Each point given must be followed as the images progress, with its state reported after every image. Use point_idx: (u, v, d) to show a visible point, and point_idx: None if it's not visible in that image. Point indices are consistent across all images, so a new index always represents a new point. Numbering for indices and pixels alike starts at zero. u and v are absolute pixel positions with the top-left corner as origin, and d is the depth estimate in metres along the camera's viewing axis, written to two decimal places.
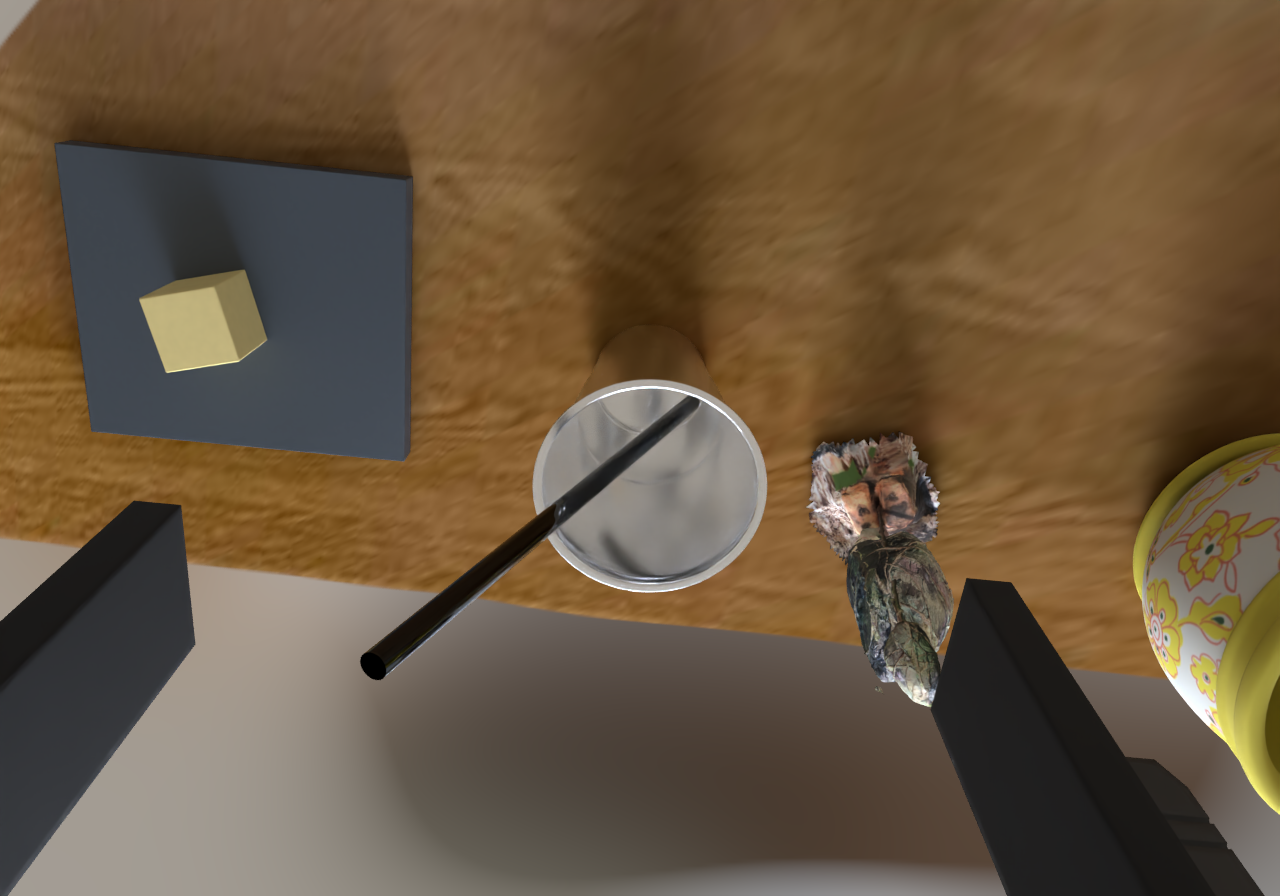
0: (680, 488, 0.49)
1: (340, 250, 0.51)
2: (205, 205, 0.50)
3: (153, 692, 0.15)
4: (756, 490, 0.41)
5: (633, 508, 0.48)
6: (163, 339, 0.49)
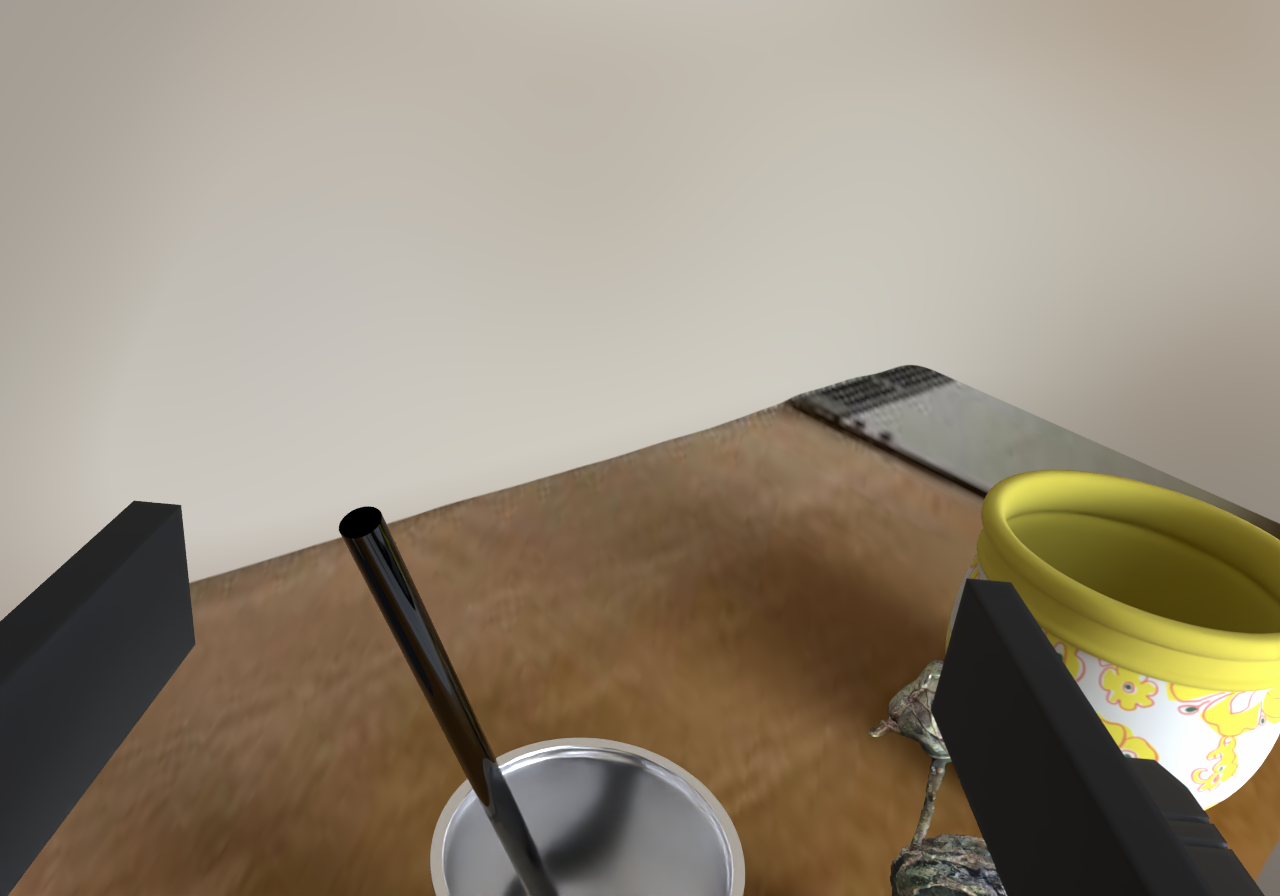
0: None
1: None
2: None
3: (153, 692, 0.15)
4: (672, 777, 0.34)
5: None
6: None
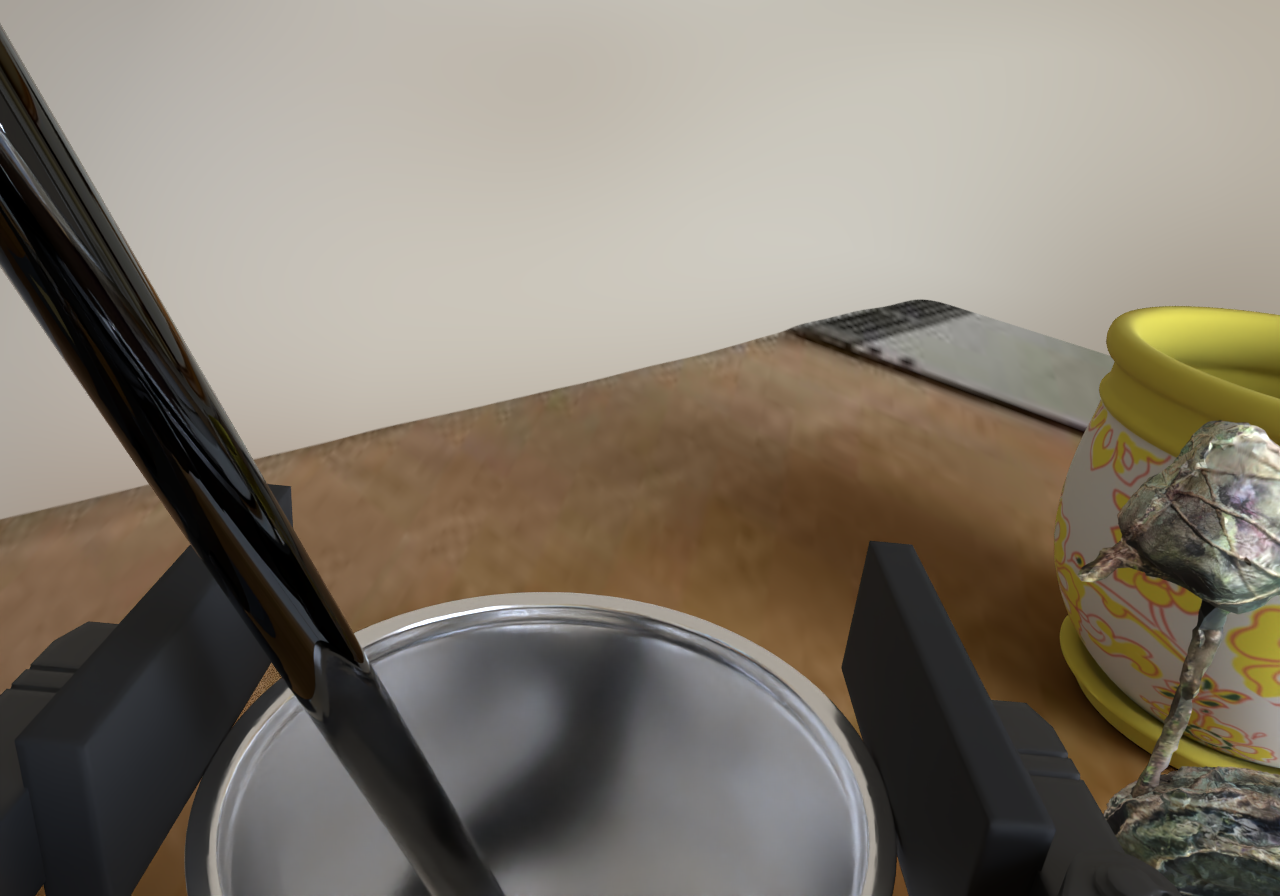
0: None
1: None
2: None
3: (267, 662, 0.16)
4: (713, 648, 0.18)
5: None
6: None
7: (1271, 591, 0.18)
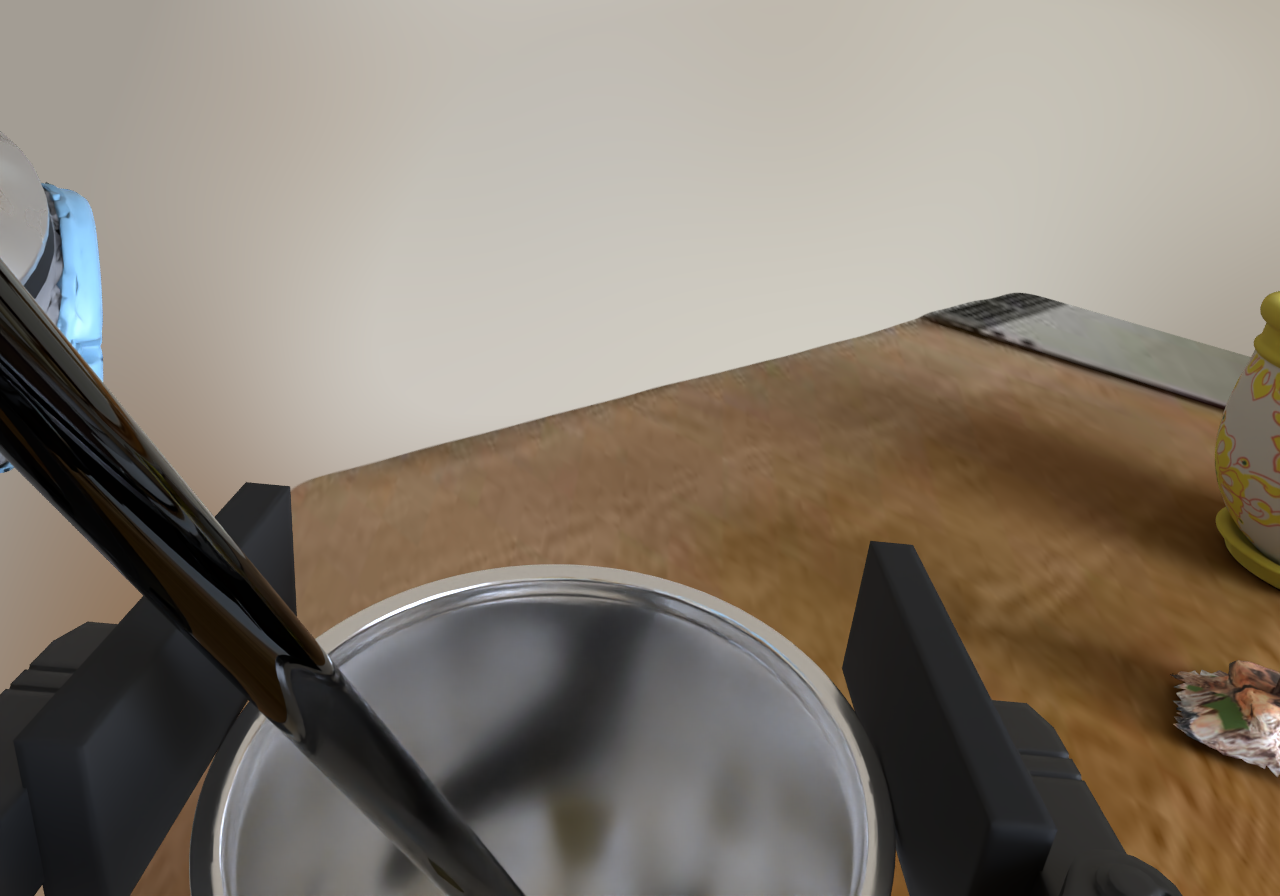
0: None
1: None
2: None
3: None
4: (718, 624, 0.18)
5: None
6: None
7: None
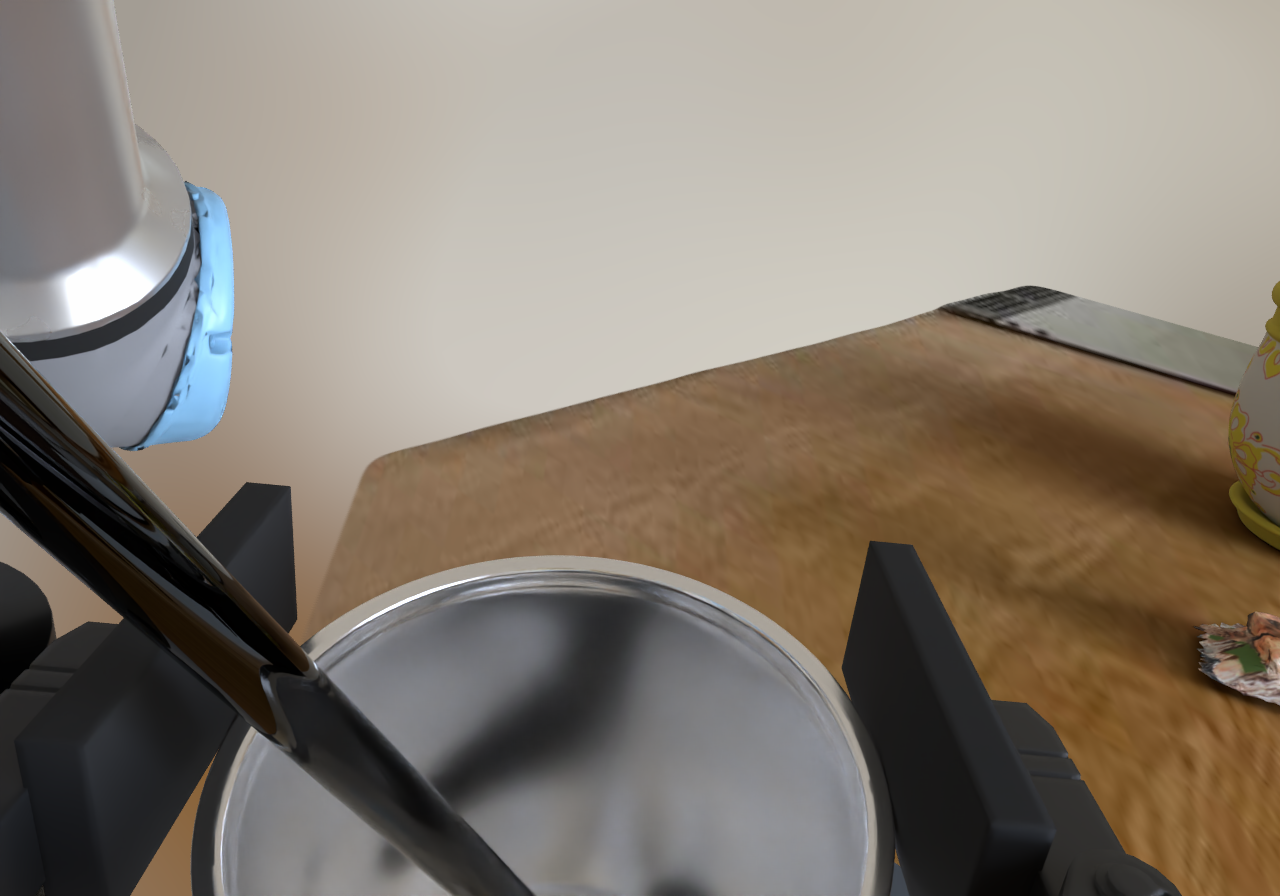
0: None
1: None
2: None
3: None
4: (719, 617, 0.18)
5: None
6: None
7: None
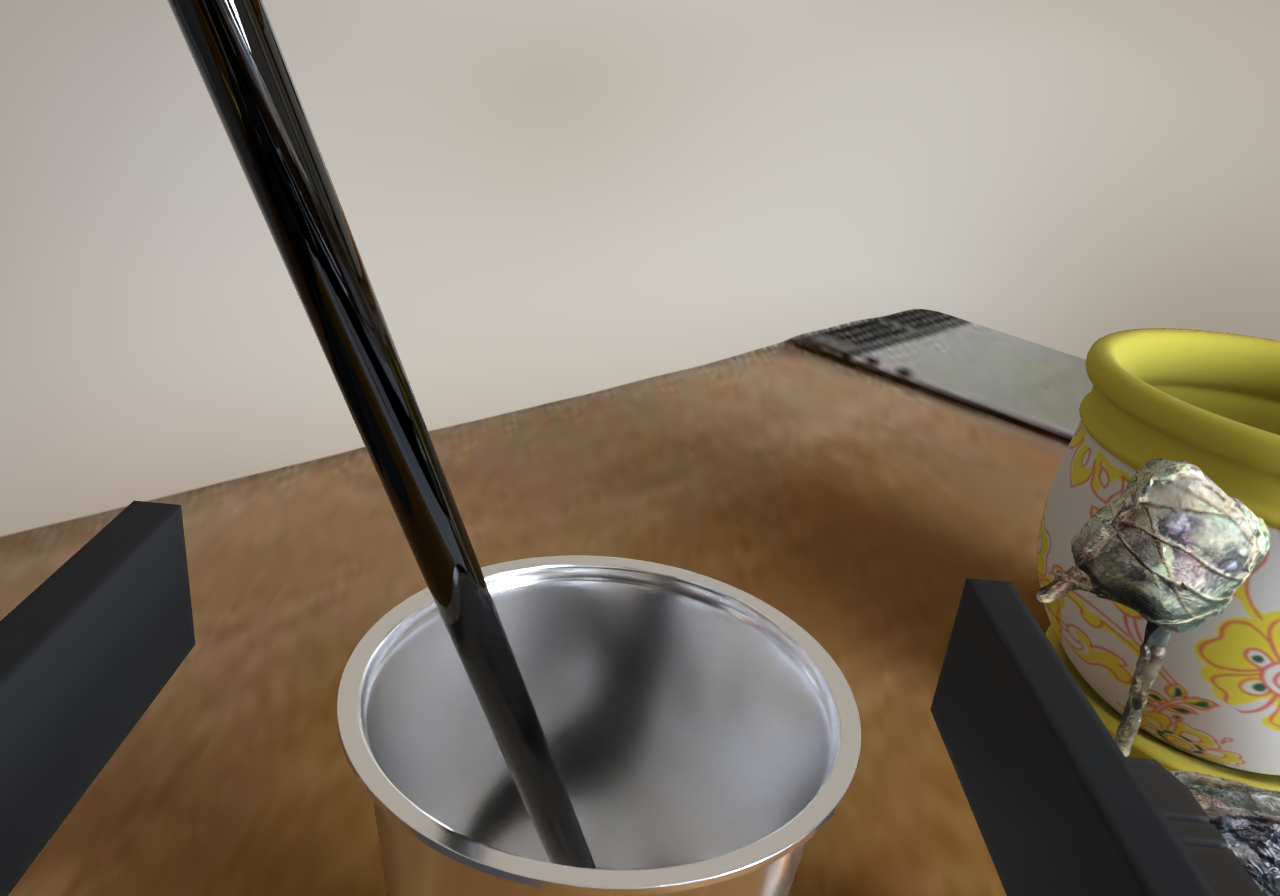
0: None
1: None
2: None
3: (153, 692, 0.15)
4: (724, 602, 0.22)
5: None
6: None
7: (1207, 613, 0.20)
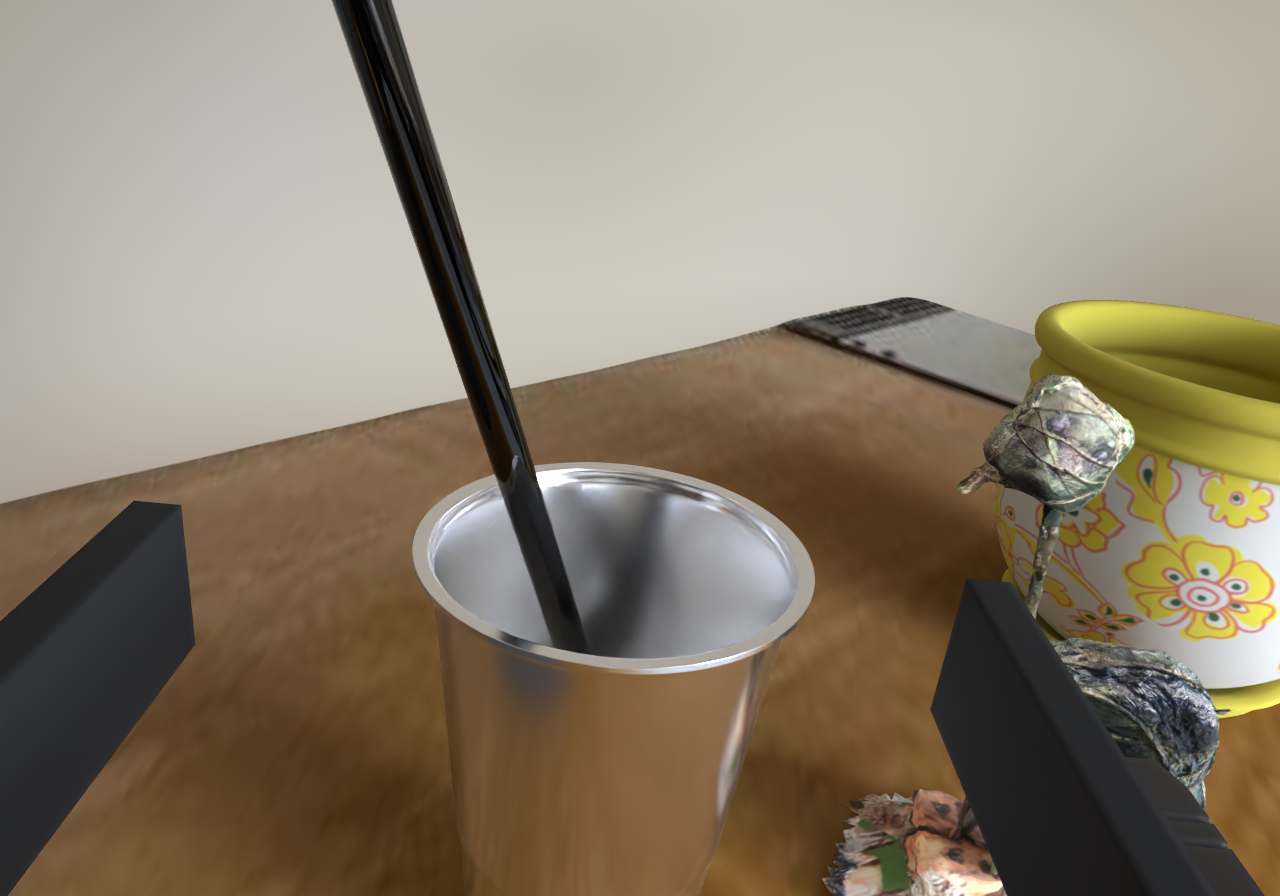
0: None
1: None
2: None
3: (153, 692, 0.15)
4: (711, 497, 0.28)
5: None
6: None
7: (1086, 495, 0.26)
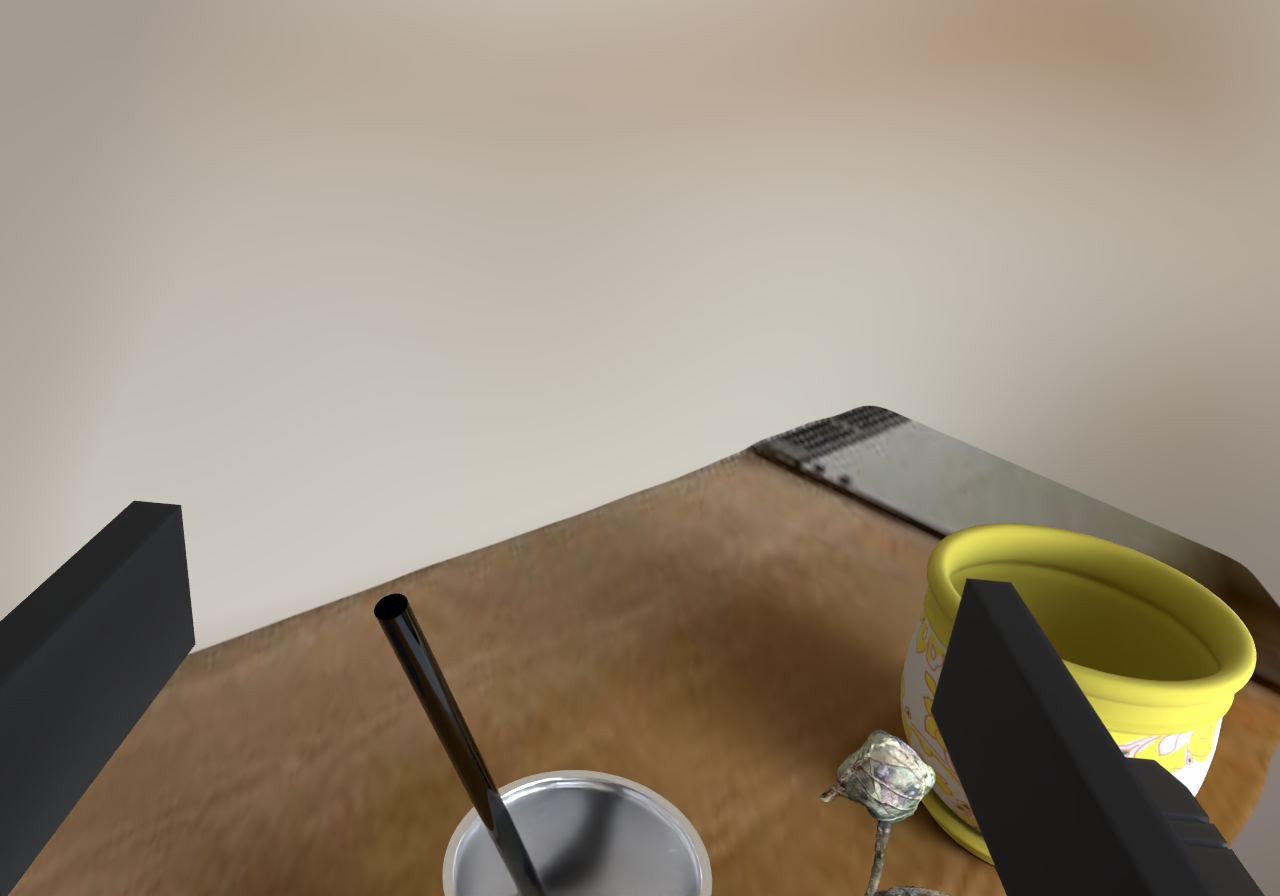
0: None
1: None
2: None
3: (153, 692, 0.15)
4: (649, 802, 0.39)
5: None
6: None
7: (903, 815, 0.37)
